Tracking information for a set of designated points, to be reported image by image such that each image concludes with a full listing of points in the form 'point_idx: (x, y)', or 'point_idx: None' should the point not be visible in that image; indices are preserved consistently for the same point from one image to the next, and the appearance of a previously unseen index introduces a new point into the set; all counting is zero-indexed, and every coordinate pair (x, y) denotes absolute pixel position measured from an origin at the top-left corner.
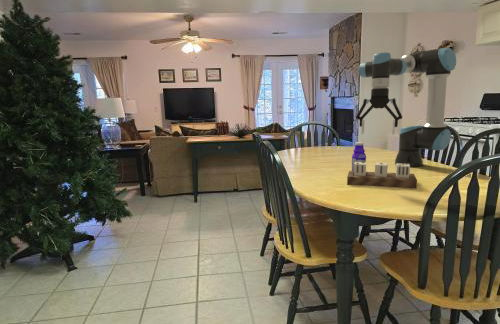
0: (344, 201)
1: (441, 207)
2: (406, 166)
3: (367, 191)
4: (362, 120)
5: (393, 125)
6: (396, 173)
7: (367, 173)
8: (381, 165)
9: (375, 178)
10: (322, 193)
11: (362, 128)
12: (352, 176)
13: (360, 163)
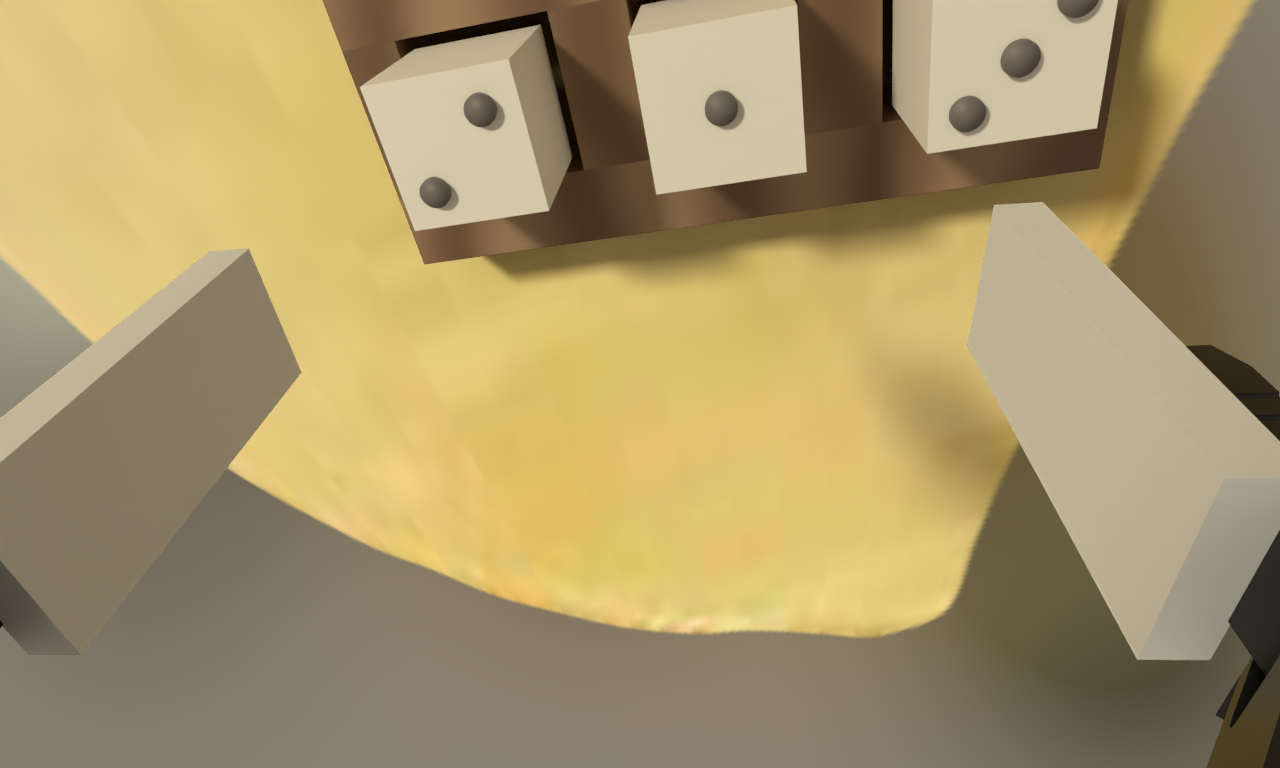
0: (575, 561)
1: None
2: (1047, 133)
3: (652, 354)
4: (51, 647)
5: (1073, 509)
6: (902, 83)
7: (559, 34)
8: (731, 181)
9: (683, 225)
10: (401, 481)
11: (213, 456)
12: (462, 238)
13: (466, 167)
